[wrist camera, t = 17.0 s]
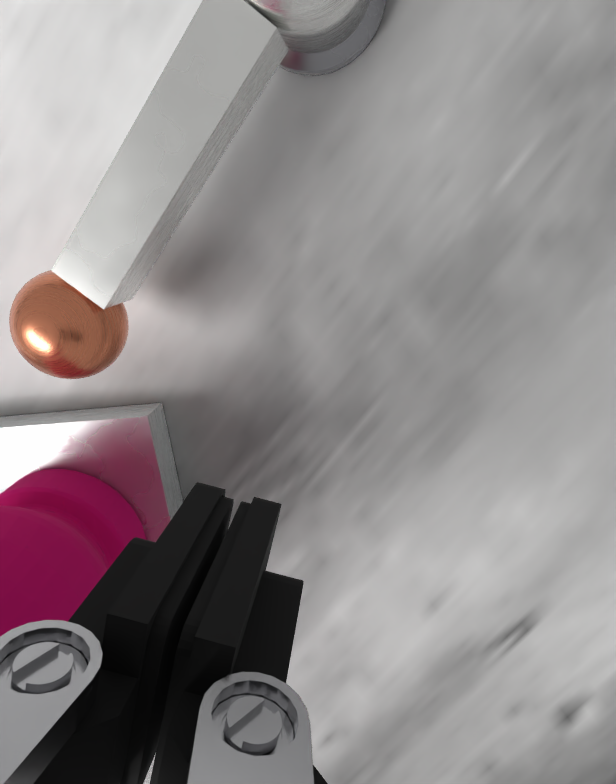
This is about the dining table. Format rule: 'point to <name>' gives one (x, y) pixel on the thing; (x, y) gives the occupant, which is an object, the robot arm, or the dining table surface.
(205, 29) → the lever
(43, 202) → the dining table surface
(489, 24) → the dining table surface
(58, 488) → the pepper mill
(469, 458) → the dining table surface
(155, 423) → the press bed
